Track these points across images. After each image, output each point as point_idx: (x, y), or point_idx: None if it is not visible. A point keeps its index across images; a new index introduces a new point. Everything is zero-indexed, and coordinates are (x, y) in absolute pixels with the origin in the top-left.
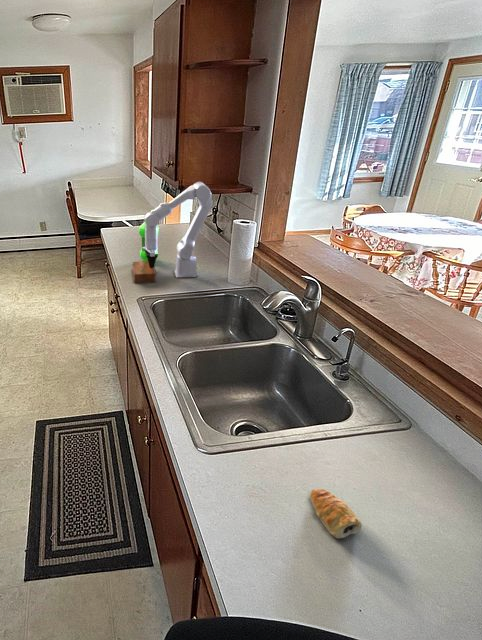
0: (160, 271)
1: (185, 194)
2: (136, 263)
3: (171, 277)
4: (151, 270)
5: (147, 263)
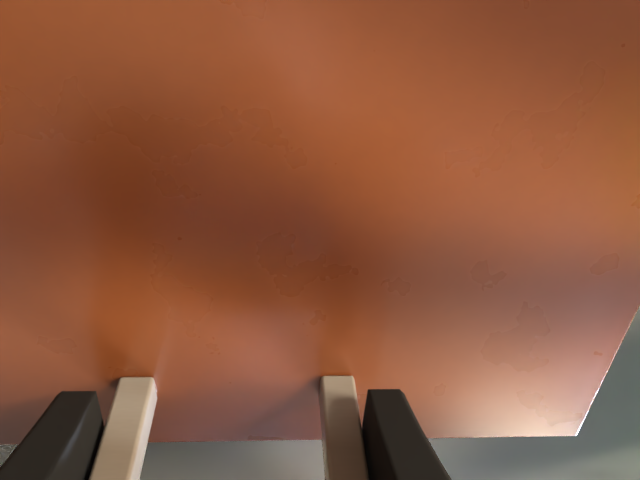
0: None
1: None
2: (612, 63)
3: (164, 470)
4: (28, 378)
5: (487, 336)
